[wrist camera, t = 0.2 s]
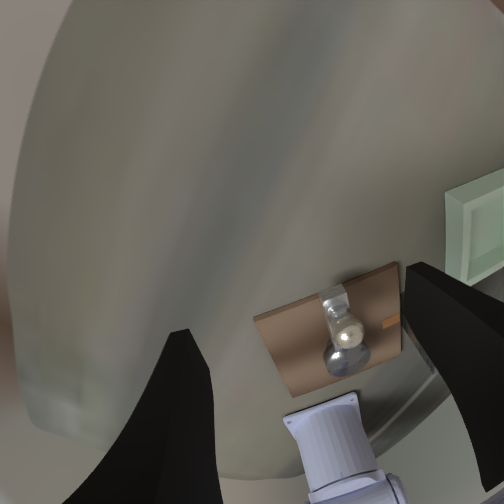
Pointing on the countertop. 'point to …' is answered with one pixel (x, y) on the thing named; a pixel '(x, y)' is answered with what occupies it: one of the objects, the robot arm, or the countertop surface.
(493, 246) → the tray
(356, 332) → the crank
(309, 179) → the countertop surface
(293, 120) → the countertop surface
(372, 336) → the crank base
